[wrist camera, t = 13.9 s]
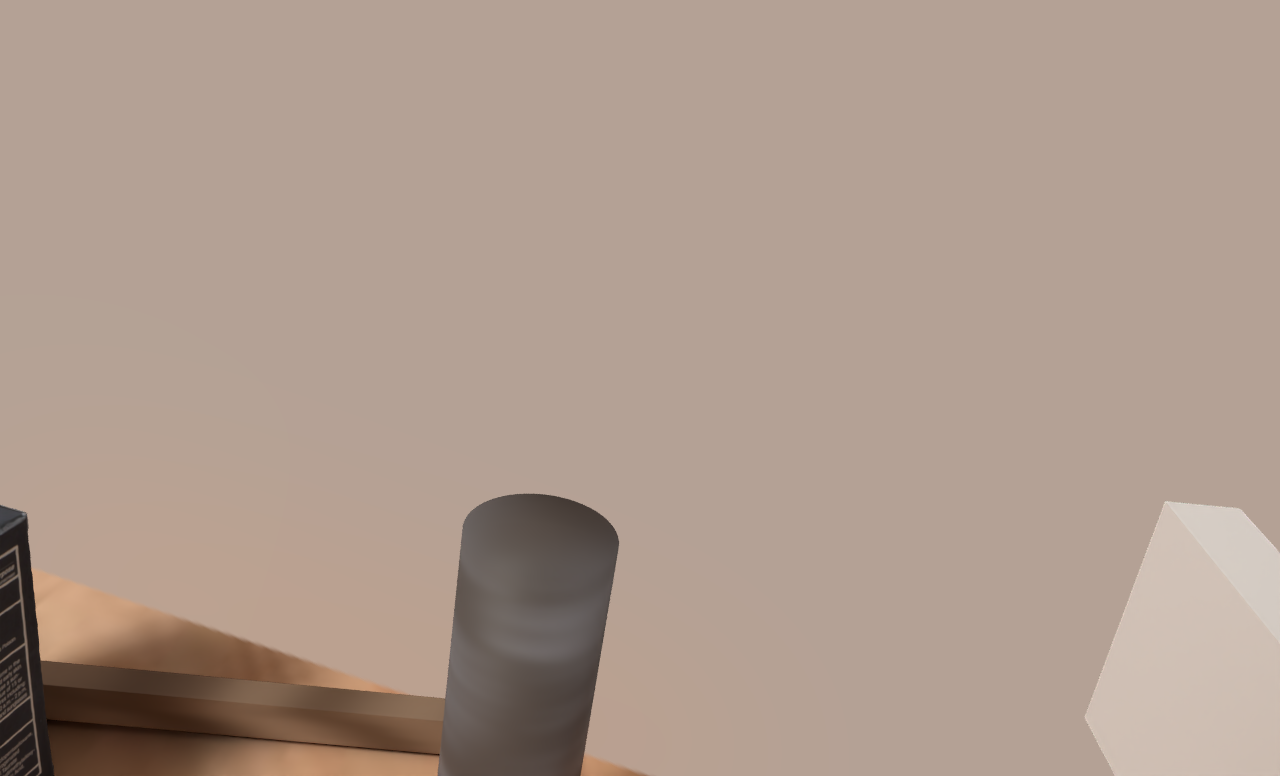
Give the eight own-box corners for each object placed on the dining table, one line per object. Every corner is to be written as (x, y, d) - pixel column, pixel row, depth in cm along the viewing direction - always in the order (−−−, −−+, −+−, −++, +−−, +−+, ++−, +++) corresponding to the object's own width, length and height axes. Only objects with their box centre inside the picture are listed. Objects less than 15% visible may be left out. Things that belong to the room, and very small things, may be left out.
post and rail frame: (561, 741, 43) (613, 403, 38) (544, 1211, 28) (627, 771, 23) (-211, 671, 41) (-282, 297, 35) (-672, 1147, 26) (-928, 633, 20)
